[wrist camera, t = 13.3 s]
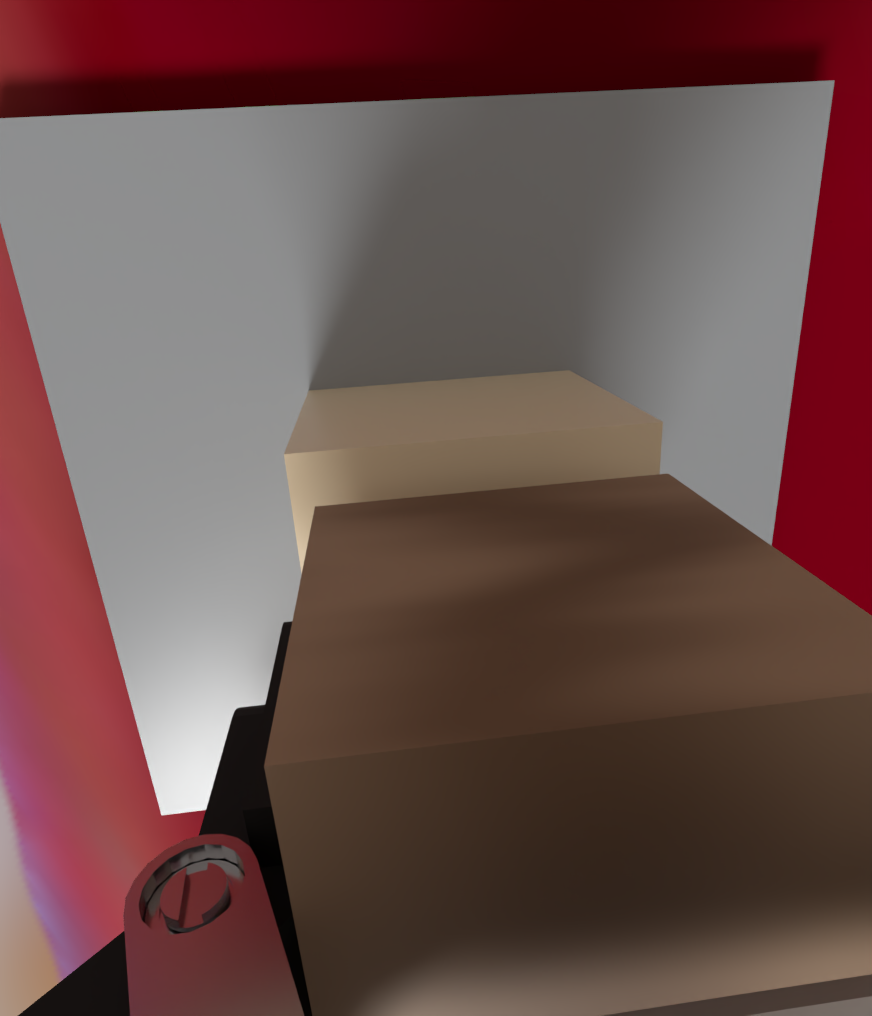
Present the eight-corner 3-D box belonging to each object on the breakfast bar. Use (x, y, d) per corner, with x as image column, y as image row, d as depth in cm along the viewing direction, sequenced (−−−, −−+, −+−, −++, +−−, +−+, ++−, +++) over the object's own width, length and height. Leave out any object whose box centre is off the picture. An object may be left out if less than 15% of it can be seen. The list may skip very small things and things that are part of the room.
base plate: (808, 89, 17) (1085, -13, 11) (730, 723, 24) (865, 895, 18) (-5, 127, 16) (-269, 35, 9) (169, 792, 23) (92, 1007, 16)
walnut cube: (668, 472, 11) (963, 680, 6) (649, 754, 13) (853, 1106, 8) (314, 506, 11) (263, 765, 5) (353, 791, 13) (346, 1191, 7)
